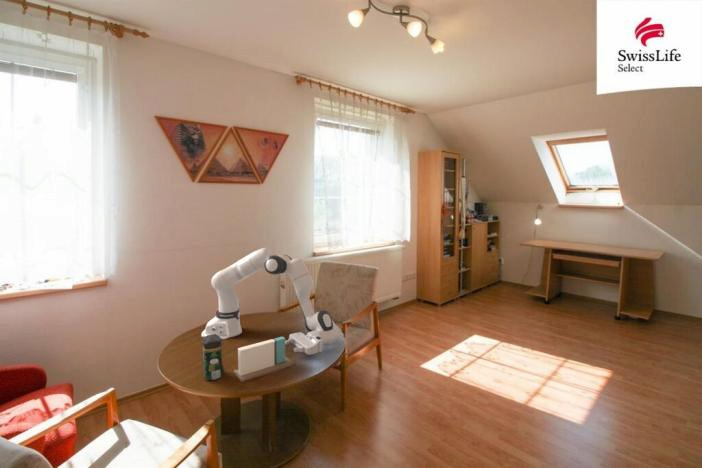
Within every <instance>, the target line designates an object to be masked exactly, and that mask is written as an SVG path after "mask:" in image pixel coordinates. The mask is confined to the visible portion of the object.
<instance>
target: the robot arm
mask: <svg viewBox="0 0 702 468" xmlns="http://www.w3.org/2000/svg"><path fill="white" fill-rule="evenodd" d="M263 269H264V270H265V271H266V272H267V273H268V274H270V275H274V276H275V275H282V274H286V275H287V276H289V278H290V281H291V283H292V286H293V287H294V290H295V295H296V298H297V302H298V304H299V307H300V309H301V312H302V314H303V315H302V316H303V318H304V326H305V328H306V331H308V332H307V333H303V332H300V331H299V332H294V333H290V334H289V336H288V339H287V340H285V346H289V345H290V344H293V345H294V346H295V347H293V352H294V353H305V354H306V355H314V354H317V353H321V352H323V347H324V346H328V345H331V344H334V343H336V342H337V341H339V340H340V338H341V329H340V327H339V326H338V325H337V324H336V323H335V322H334V320H333V317H332V314H331V313H330V312H329V311H327V310H325V309H323V310H319V311H317V312H315V311H314V307H313V305H312V302H311V300H310V299H311V298H310V296H311V292H312V290H313V288H314V285H315V282H314V278H313V276H312V274H311V272H310V271H309V268H308V267H307V265H306V263H304V261H303V260H302V259H301V258H292V257H291V256H290V255H287V254H274V253H273V251H272V250H271V249H270V248H268V247H262V248H259V249H256V250H255V251H252V252H251V253H249V254H247V255H246V256H244V257H242V258H241V259H239V260H237V261H236V262H235V263H232V264H231V265H229V266H228V267H226V268H224V269H221V270H220V271H217V272H216V273H215V274H214V275H213V276H212V278H211V279H210V281H211V282H210V284H211V286H212V288H213V289H214V290H215V291H216V294H217V297H218V308H217V309H216V310H215V312H214V315H215V316H214V317H213V318H212V319H210V320H209V321H208V322H207V324H206V325H205V329H204V330H203V331H202V332H201V338H205V337H206V336H207V335H212V334H216V335H218V336H220V338H221V340H227V339H229V338H233V337H236V336H239V335H240V334H242V332H243V330H242V326H241V322H240V318H241V312H240V308H239V306H240V305H239V304H240V303H239V295H238V294H237V293H236V289H235V286H236V285H237V284H238V283H240V282H242V281H244V280H246V279H247V278H249V277H251V276H252V275H255V274H256V273H258V272H260V271H261V270H263Z"/></svg>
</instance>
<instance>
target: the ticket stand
mask: <svg viewBox="0 0 702 468" xmlns="http://www.w3.org/2000/svg"><path fill="white" fill-rule="evenodd" d="M273 339H274V338H273ZM273 339H268V340H264V341H259V342H257V343H251V344H249V345H244V346H241V347H238V348H237V364H238V365H237V366H238V367H237V368H238V369H233V374H234V375H235V376H236V378H238V380H239V381H240V382H241V383H243V382H246V381H249V380H252V379H255V378H258V377H261V376H264V375H265V376H266V375H267V374H270V373H274V372H277V371H280V370H283V369H286V368H288V367H289V368H290V367H292V366H294V365H295V364H294V362H293V361H292V360H291V359H289V358H288V357H287V356H286V355H285V361H284V362H281V363H278V364H275V341H274V340H273Z"/></svg>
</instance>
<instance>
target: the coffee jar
mask: <svg viewBox="0 0 702 468" xmlns="http://www.w3.org/2000/svg"><path fill="white" fill-rule="evenodd" d="M222 349H223V348H222V339H221V338H220V336H218V335H216V334H212V335H207V336H206V337H203V339H202V365H203V364H204V367H203V376H204V379H205V380H206V381H215V380H219V379H221V378H222V376H223V372H222V369H223V353H222V352H223V351H222Z"/></svg>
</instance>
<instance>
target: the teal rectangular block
mask: <svg viewBox="0 0 702 468" xmlns="http://www.w3.org/2000/svg"><path fill="white" fill-rule="evenodd" d="M273 340H274V341H275V364H278V363H281V362H284V361H285V356H286V345H285V341H286V338H285V337H284V336H278V337H274V338H273Z"/></svg>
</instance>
